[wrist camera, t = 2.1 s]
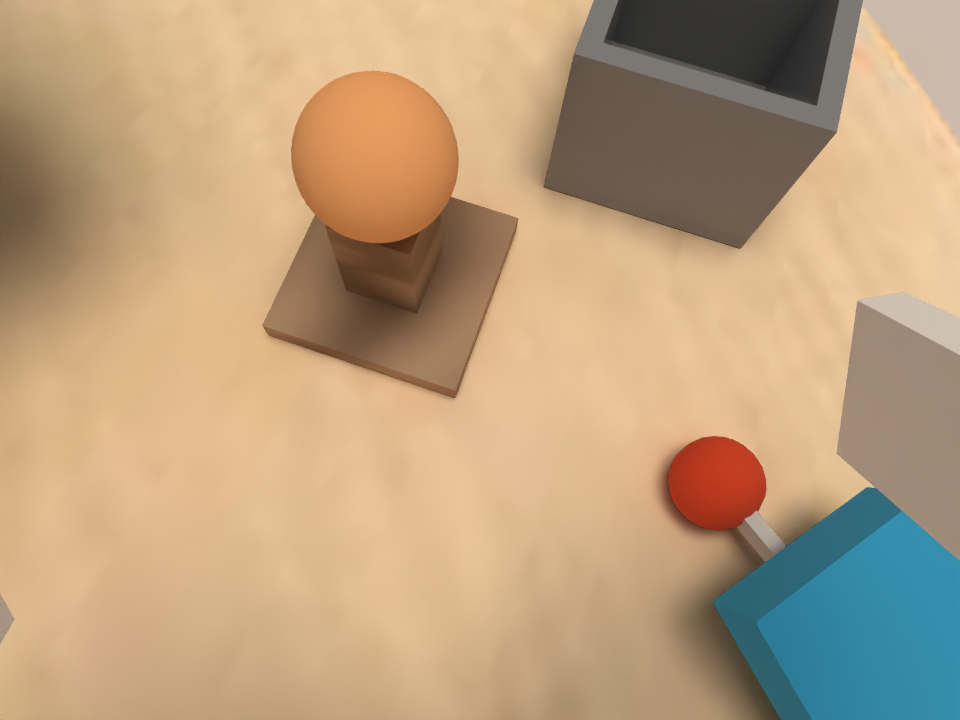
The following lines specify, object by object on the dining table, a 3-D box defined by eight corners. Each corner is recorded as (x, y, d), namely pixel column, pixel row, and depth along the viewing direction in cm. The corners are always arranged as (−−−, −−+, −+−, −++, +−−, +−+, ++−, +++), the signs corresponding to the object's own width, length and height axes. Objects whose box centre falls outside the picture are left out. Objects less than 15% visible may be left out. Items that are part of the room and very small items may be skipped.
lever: (960, 779, 28) (739, 397, 28) (1156, 892, 21) (866, 388, 21) (835, 890, 27) (601, 489, 27) (1003, 1049, 20) (690, 511, 20)
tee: (268, 335, 28) (223, 268, 23) (344, 175, 31) (320, 79, 25) (455, 397, 28) (456, 345, 22) (516, 230, 30) (531, 144, 25)
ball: (284, 243, 23) (241, 150, 18) (343, 124, 24) (317, 10, 20) (427, 290, 23) (422, 208, 18) (477, 166, 24) (483, 61, 19)
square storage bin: (544, 186, 31) (573, 53, 23) (597, 36, 34) (640, -125, 26) (740, 248, 30) (836, 132, 23) (778, 90, 33) (874, -60, 26)
